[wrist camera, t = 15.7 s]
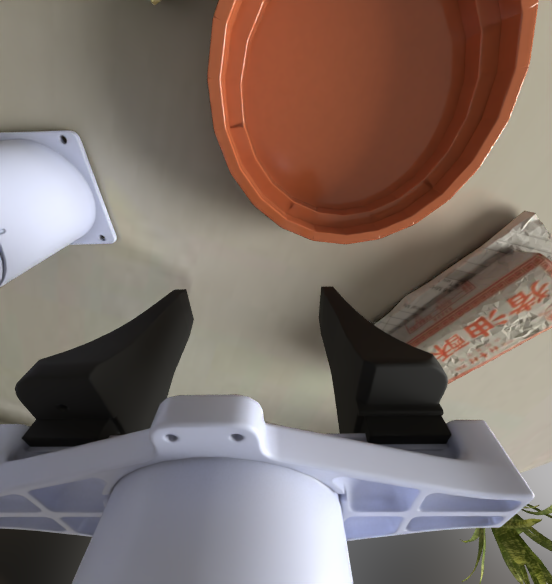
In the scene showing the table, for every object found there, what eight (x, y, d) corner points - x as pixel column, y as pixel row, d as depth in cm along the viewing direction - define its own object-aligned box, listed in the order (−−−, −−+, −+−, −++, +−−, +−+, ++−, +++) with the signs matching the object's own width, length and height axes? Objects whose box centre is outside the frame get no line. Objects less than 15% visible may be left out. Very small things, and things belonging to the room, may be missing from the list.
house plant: (539, 429, 38) (688, 609, 24) (455, 470, 44) (535, 629, 30) (472, 395, 34) (606, 587, 20) (391, 445, 40) (450, 616, 26)
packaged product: (422, 417, 28) (358, 375, 24) (404, 379, 32) (347, 338, 29) (632, 311, 20) (583, 227, 17) (573, 278, 24) (524, 206, 21)
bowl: (235, 229, 22) (229, 247, 19) (197, -101, 13) (174, -163, 10) (439, 224, 22) (464, 241, 19) (545, -120, 13) (625, -190, 10)
